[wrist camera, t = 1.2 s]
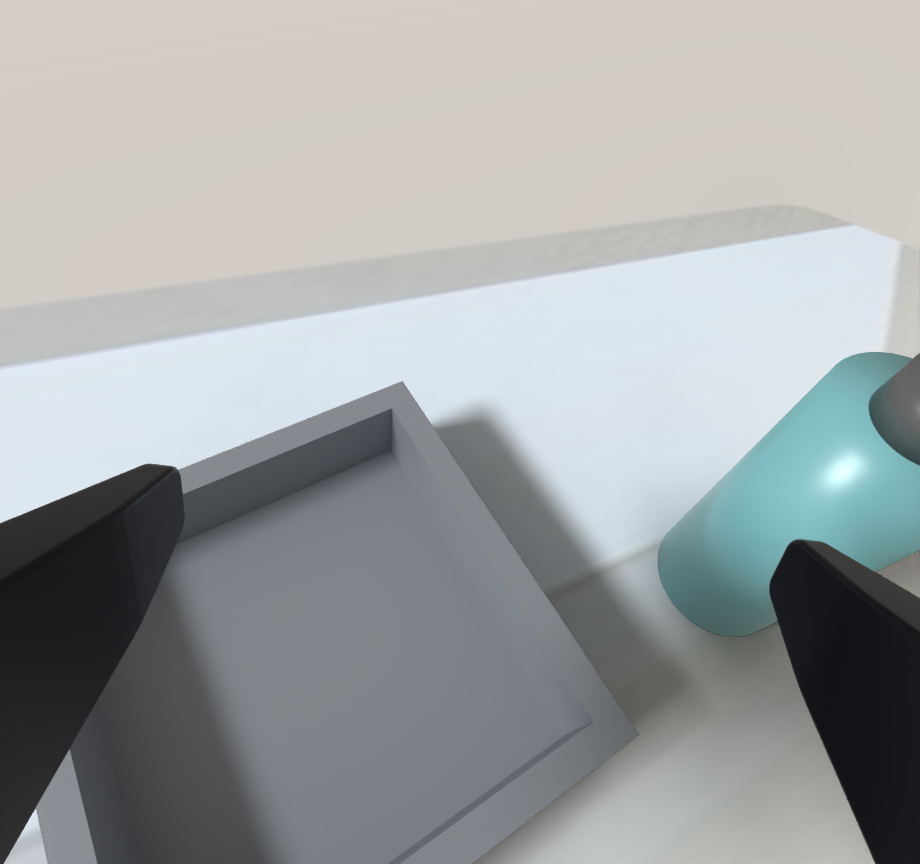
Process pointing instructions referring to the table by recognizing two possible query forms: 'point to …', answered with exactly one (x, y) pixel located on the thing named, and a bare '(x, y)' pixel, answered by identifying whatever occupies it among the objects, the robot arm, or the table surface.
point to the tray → (333, 669)
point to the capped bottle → (805, 495)
